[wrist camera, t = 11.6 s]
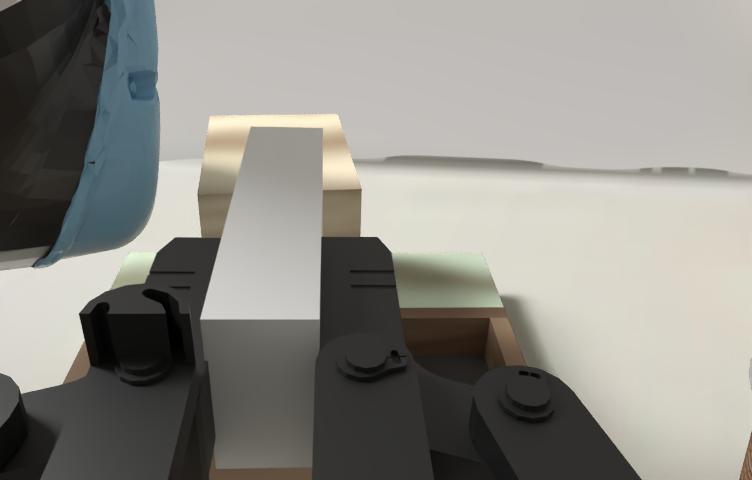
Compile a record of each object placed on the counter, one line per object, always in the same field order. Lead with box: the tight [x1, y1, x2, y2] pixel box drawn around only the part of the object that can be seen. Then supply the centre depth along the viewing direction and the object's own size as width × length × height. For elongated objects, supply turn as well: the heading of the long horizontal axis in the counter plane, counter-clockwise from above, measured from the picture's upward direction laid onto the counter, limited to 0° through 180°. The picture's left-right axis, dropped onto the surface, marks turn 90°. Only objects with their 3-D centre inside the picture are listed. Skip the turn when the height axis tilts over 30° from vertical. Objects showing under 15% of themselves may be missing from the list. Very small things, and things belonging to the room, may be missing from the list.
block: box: [197, 114, 362, 238], centre depth 36 cm, size 10×7×9 cm
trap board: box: [63, 253, 526, 480], centre depth 30 cm, size 32×22×3 cm
